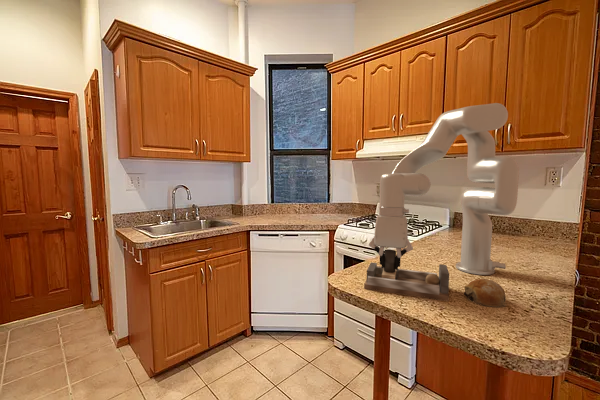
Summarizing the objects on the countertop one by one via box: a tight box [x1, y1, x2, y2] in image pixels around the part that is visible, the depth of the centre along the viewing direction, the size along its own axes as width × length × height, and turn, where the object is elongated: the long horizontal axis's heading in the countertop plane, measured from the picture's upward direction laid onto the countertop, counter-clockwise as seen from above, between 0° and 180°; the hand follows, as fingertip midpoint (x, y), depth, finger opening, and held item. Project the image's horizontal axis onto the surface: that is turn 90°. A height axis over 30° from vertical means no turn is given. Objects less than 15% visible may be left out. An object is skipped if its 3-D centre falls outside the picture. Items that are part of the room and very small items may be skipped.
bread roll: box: [463, 278, 507, 308], centre depth 82 cm, size 10×10×8 cm
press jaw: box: [382, 248, 400, 280], centre depth 92 cm, size 5×9×10 cm, turn 158°
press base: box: [363, 262, 450, 302], centre depth 91 cm, size 24×12×8 cm, turn 68°
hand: (389, 267), depth 93 cm, fingers closed on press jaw, 3 cm apart
